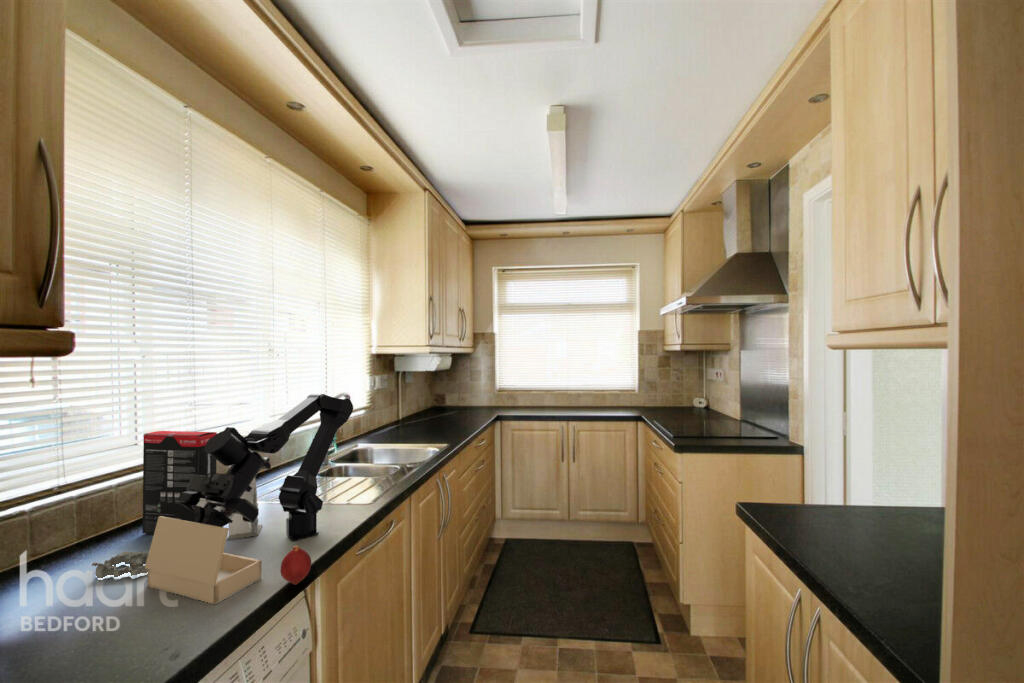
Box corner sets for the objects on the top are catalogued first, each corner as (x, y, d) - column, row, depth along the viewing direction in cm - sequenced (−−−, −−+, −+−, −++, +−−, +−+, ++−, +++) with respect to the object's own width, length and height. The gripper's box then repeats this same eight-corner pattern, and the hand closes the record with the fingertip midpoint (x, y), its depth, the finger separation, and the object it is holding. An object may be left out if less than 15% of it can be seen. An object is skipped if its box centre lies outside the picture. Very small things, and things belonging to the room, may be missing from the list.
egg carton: (87, 583, 92) (88, 563, 92) (118, 565, 100) (118, 548, 100) (139, 581, 93) (139, 562, 93) (166, 564, 100) (166, 546, 100)
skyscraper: (220, 541, 112) (221, 432, 113) (228, 529, 119) (228, 427, 120) (258, 535, 115) (258, 430, 116) (262, 524, 123) (263, 425, 123)
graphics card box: (218, 527, 121) (219, 429, 121) (198, 538, 114) (199, 434, 114) (162, 525, 122) (163, 429, 123) (139, 536, 115) (140, 433, 116)
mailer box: (196, 564, 100) (196, 547, 100) (261, 579, 93) (261, 560, 93) (147, 586, 90) (147, 567, 90) (215, 605, 83) (215, 584, 83)
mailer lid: (161, 516, 93) (158, 516, 92) (228, 528, 86) (226, 528, 86) (147, 567, 90) (144, 568, 90) (215, 584, 83) (212, 584, 83)
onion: (282, 579, 93) (282, 541, 93) (312, 574, 95) (312, 537, 95) (278, 593, 87) (278, 553, 87) (309, 588, 89) (310, 548, 89)
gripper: (185, 454, 97) (127, 522, 86) (246, 461, 91) (191, 535, 80) (219, 479, 104) (169, 545, 94) (278, 487, 98) (232, 559, 87)
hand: (189, 546), depth 89 cm, fingers closed, pressing on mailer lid
